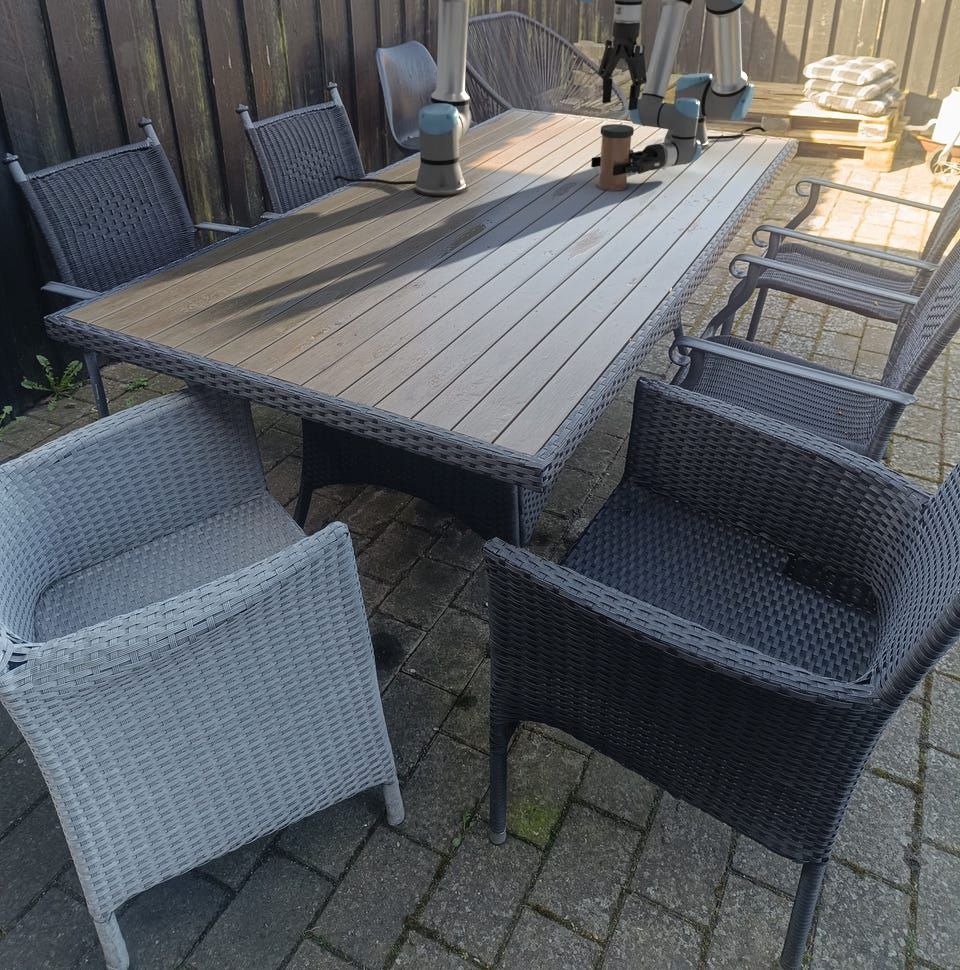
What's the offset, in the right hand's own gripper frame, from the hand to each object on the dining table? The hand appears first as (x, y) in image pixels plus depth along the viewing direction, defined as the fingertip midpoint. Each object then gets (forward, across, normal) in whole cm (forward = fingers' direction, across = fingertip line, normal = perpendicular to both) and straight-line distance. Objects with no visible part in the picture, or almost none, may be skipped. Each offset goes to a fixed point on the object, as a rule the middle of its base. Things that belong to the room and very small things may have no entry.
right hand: (602, 166), depth 256 cm
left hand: (-4, 0, +17) cm, 17 cm away
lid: (-4, 0, +10) cm, 11 cm away
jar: (-4, 0, -7) cm, 8 cm away
